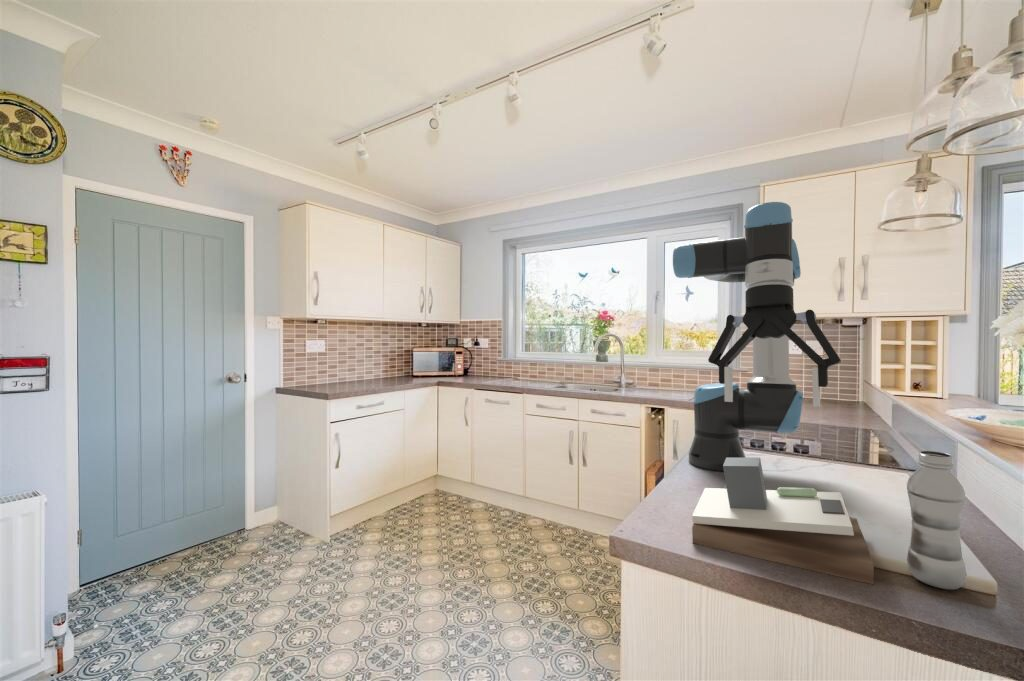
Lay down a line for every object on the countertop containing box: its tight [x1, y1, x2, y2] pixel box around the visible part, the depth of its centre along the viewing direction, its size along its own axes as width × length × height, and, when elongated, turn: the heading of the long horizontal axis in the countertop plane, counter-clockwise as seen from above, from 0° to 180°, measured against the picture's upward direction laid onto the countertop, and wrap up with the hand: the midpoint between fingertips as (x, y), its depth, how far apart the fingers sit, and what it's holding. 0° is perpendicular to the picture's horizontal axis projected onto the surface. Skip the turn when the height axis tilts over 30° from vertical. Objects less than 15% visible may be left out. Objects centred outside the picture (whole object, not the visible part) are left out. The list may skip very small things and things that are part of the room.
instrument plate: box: [691, 457, 854, 536], centre depth 81 cm, size 16×24×9 cm, turn 58°
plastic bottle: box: [906, 450, 967, 591], centre depth 65 cm, size 6×7×20 cm
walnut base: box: [691, 516, 875, 585], centre depth 80 cm, size 18×26×3 cm
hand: (770, 404), depth 76 cm, fingers open, 13 cm apart
